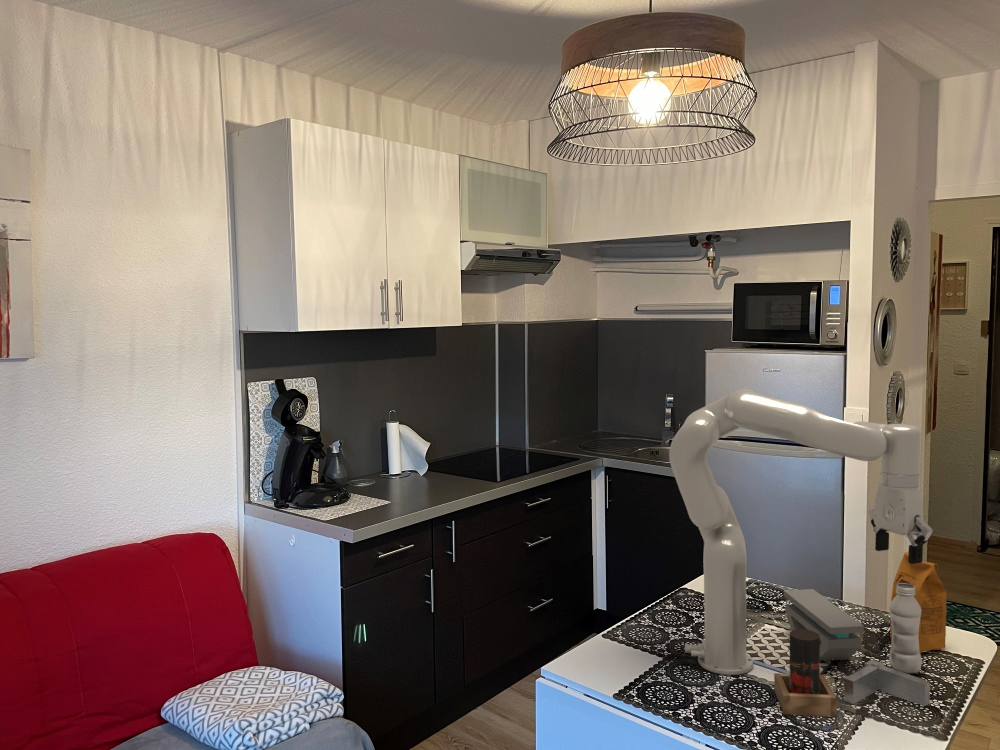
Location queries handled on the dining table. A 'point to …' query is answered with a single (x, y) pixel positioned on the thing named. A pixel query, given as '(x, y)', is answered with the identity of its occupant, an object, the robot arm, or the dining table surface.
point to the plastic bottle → (905, 630)
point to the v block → (885, 684)
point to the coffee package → (925, 601)
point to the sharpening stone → (824, 623)
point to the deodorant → (804, 662)
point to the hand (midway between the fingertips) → (898, 556)
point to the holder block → (805, 698)
